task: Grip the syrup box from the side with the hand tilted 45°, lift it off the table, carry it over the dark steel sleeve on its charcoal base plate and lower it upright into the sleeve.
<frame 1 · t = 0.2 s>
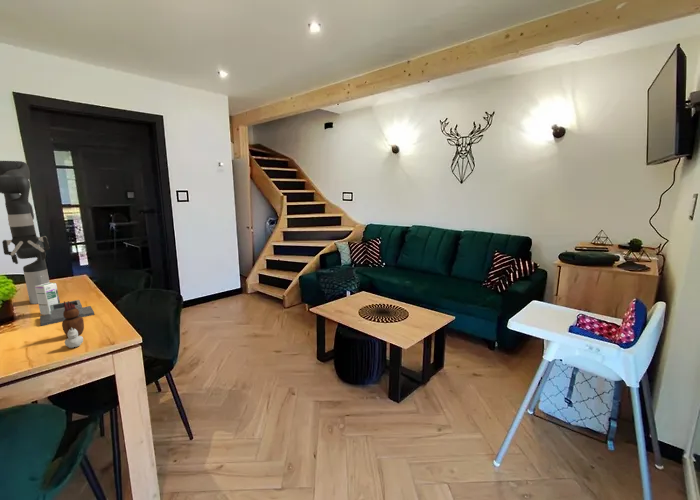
hand: (30, 261, 146), 28 cm above the table, tool pointing down, fingers open, 8 cm apart
rubber duck: (75, 346, 128), on the table
wooden figurine: (75, 335, 138), on the table
steel sleeve: (67, 316, 160), on the table
syrup box: (51, 313, 165), on the table
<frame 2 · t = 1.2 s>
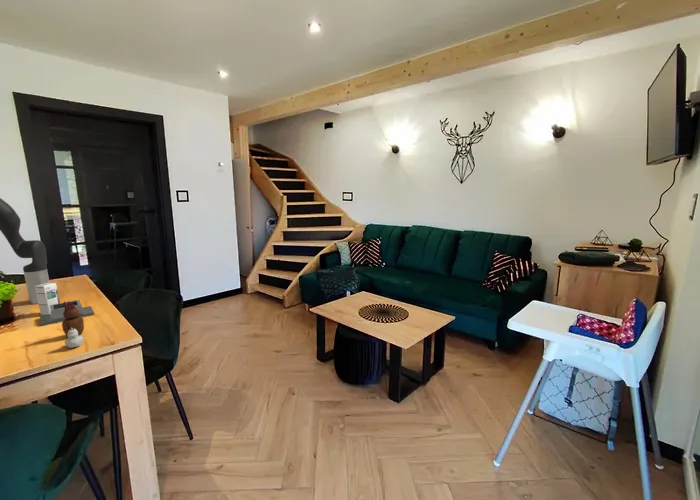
hand: (11, 282, 155), 18 cm above the table, tool tilted 45°, fingers open, 8 cm apart
nothing on the table moved.
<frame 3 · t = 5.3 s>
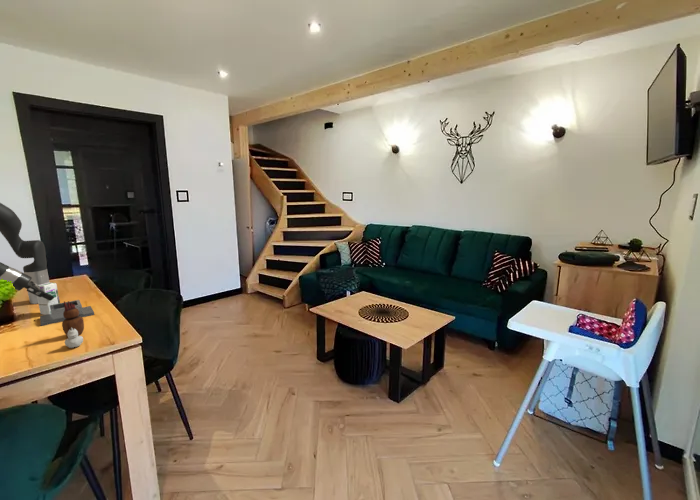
hand: (52, 297, 165), 8 cm above the table, tool tilted 45°, fingers closed on syrup box, 7 cm apart
syrup box: (51, 313, 165), on the table, touching gripper
everything else where it was.
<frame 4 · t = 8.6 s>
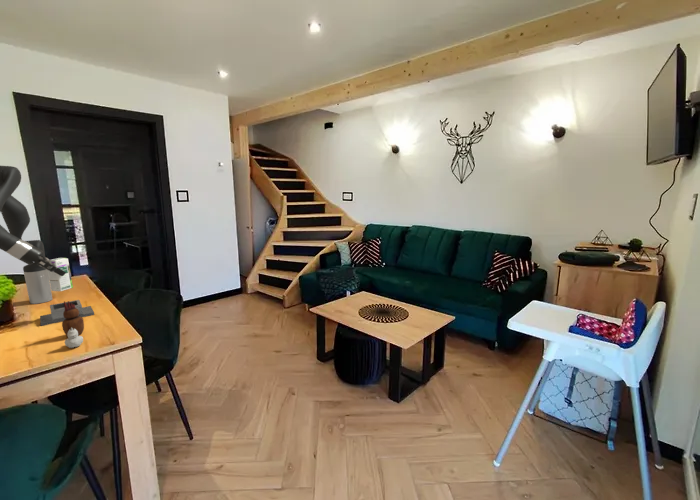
hand: (63, 272, 157), 21 cm above the table, tool tilted 45°, fingers closed on syrup box, 7 cm apart
syrup box: (62, 289, 157), point 13 cm above the table, touching gripper
everything else where it was.
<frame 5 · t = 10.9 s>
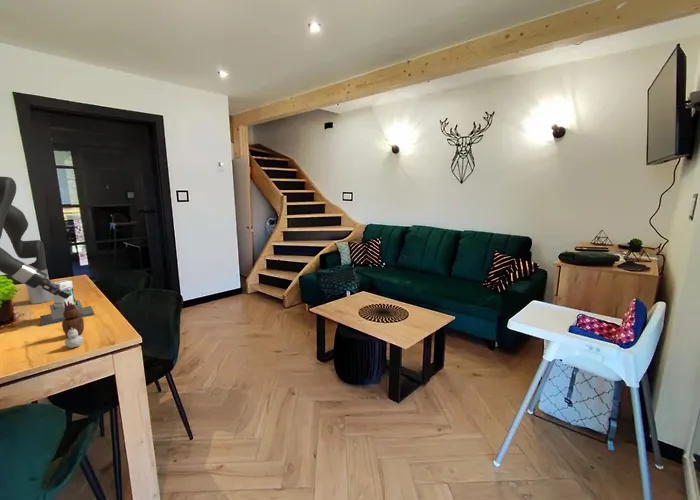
hand: (67, 295, 159), 10 cm above the table, tool tilted 45°, fingers closed on syrup box, 7 cm apart
syrup box: (66, 312, 159), point 2 cm above the table, touching gripper
everything else where it was.
when the fingers open (10 cm above the table, at t = 12.4 s): syrup box drops 1 cm, resting on steel sleeve.
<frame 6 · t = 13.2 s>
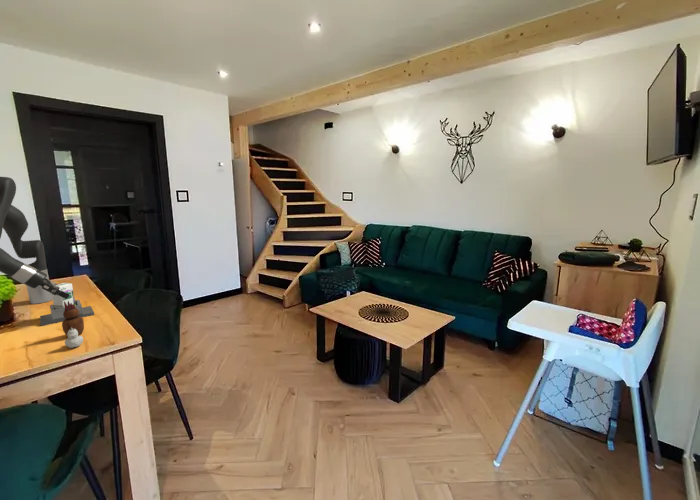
hand: (67, 295, 159), 10 cm above the table, tool tilted 45°, fingers open, 8 cm apart
syrup box: (66, 314, 159), point 1 cm above the table, touching gripper, steel sleeve
everything else where it was.
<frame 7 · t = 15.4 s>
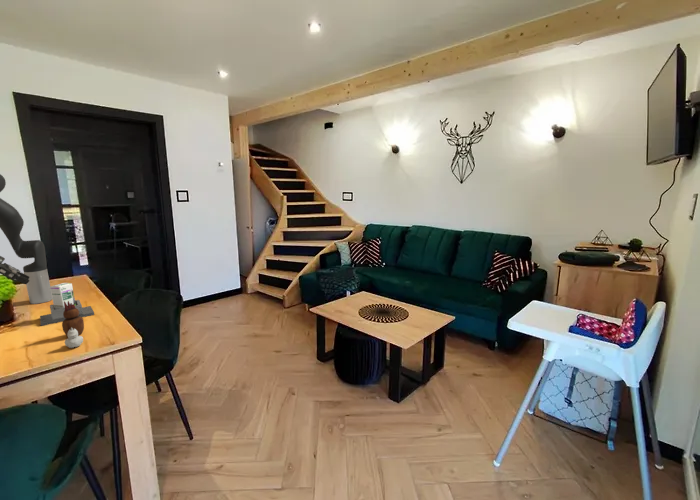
hand: (28, 280, 149), 20 cm above the table, tool tilted 45°, fingers open, 8 cm apart
syrup box: (66, 314, 159), point 1 cm above the table, touching steel sleeve
everything else where it was.
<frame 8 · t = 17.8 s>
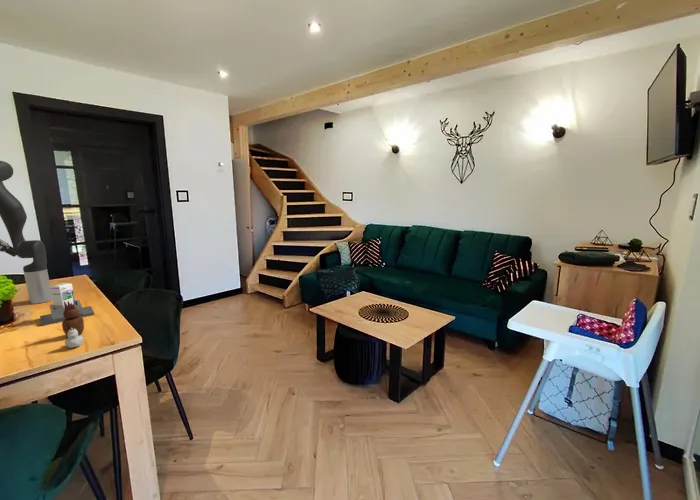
hand: (16, 253, 153), 31 cm above the table, tool tilted 45°, fingers open, 8 cm apart
nothing on the table moved.
at the end: syrup box 0.4 cm off-centre on the steel sleeve, point 1.0 cm above the steel sleeve's base; syrup box tilted 0°; the gripper is holding nothing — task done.
